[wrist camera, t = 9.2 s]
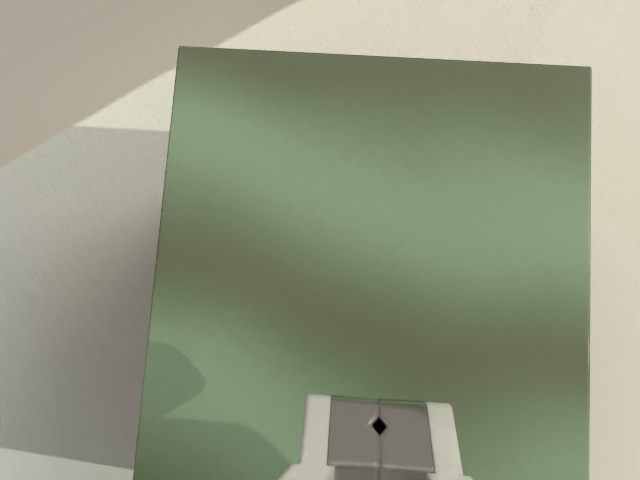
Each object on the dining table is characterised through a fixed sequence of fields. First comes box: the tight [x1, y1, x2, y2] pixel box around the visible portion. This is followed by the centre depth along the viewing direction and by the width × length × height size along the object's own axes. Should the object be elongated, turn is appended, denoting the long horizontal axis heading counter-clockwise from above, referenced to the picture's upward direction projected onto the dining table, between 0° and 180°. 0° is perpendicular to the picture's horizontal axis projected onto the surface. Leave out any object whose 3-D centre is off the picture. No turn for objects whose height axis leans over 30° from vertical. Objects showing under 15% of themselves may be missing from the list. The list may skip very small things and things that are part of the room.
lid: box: [133, 46, 591, 480], centre depth 18 cm, size 17×14×1 cm
